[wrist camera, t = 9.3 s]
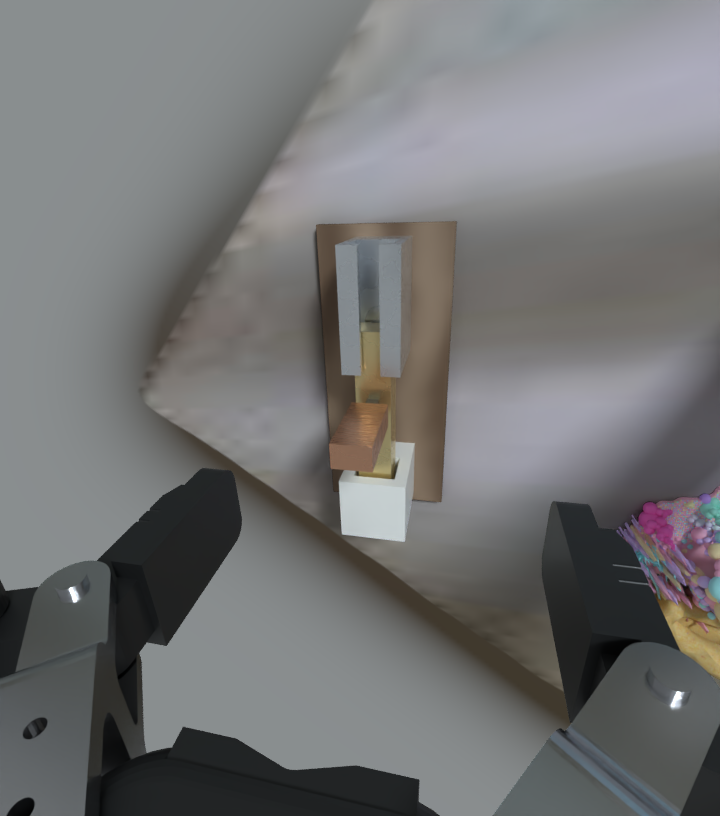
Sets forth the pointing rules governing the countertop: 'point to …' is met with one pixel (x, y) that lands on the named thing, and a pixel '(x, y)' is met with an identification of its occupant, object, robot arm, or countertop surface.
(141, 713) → the robot arm
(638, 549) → the candy landscape model
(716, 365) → the countertop surface
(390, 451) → the sliding latch bolt
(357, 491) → the socket
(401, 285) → the sleeve
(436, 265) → the base board
